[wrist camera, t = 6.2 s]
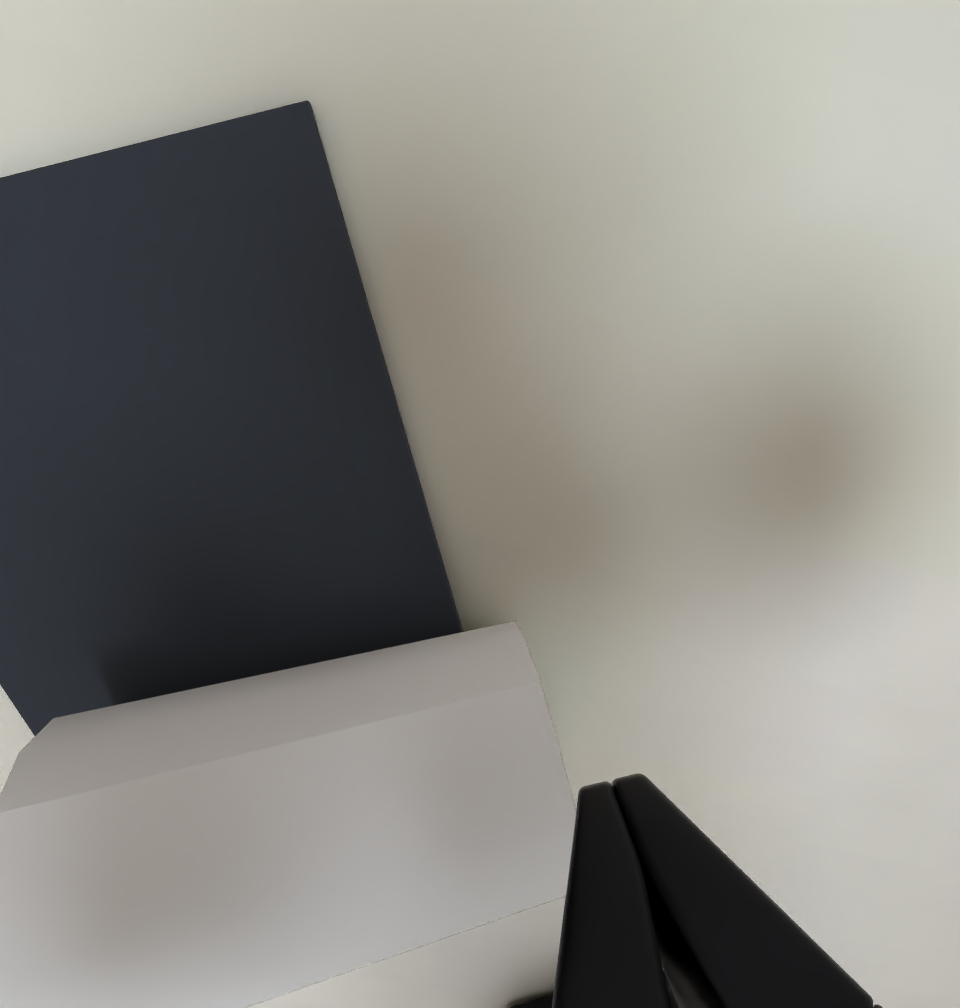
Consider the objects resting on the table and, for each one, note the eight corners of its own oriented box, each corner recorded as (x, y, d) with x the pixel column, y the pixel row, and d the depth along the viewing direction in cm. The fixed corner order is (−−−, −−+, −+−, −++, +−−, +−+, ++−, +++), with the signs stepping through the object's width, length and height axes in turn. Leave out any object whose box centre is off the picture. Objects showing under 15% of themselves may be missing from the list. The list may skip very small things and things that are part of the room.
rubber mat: (518, 824, 20) (520, 833, 20) (161, 911, 20) (158, 920, 20) (310, 102, 12) (308, 99, 12) (-275, 250, 12) (-292, 251, 12)
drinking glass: (594, 948, 15) (146, 1083, 14) (517, 688, 20) (175, 779, 19) (600, 857, 10) (-75, 1052, 9) (496, 541, 15) (37, 655, 14)
